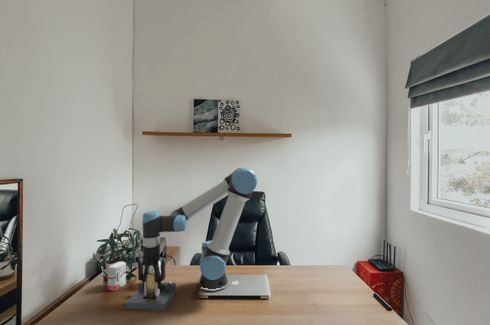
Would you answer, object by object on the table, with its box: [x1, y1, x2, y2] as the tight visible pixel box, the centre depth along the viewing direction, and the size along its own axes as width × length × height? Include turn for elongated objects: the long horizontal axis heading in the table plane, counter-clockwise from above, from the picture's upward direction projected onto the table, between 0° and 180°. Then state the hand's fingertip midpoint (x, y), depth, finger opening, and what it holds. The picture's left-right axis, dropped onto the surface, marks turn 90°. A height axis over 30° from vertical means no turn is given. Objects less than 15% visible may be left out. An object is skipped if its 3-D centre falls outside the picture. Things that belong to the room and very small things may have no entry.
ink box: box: [107, 261, 127, 292], centre depth 141 cm, size 9×5×12 cm, turn 168°
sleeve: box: [147, 271, 157, 299], centre depth 125 cm, size 5×5×12 cm
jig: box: [124, 280, 177, 312], centre depth 125 cm, size 18×14×7 cm
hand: (152, 295), depth 125 cm, fingers closed on sleeve, 5 cm apart
